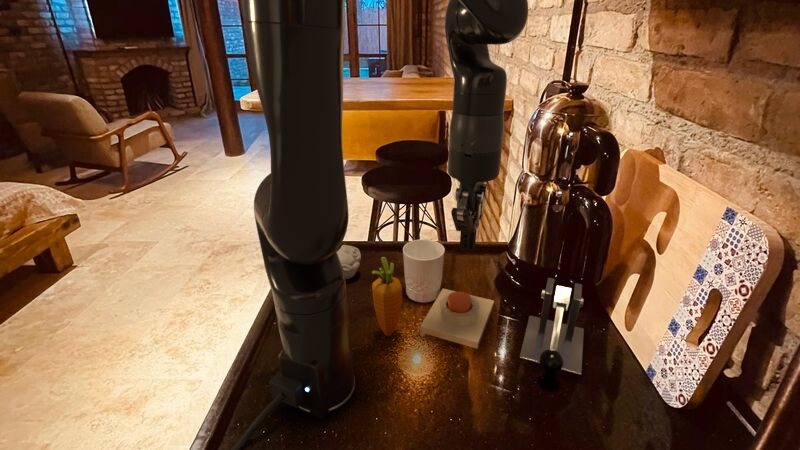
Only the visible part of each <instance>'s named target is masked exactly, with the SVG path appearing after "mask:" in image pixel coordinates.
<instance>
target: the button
mask: <svg viewBox="0 0 800 450" xmlns="http://www.w3.org/2000/svg"><path fill="white" fill-rule="evenodd" d="M468 294H469V293H467V292H464V291H456V292H453V293H451V294H450V295H449V296H448V308H449V309H450V310H451V311H453V312H456V313H466V312H468V311H469V310H470V308H471V297H470V296H469V295H470V294H469V295H468Z"/></svg>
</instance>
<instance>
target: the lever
mask: <svg viewBox="0 0 800 450" xmlns="http://www.w3.org/2000/svg"><path fill="white" fill-rule="evenodd" d="M572 291H573V290H572V287H568V286H563V285H558V284H557V285H556V286H555V291H554V295H553V301H552V308H553V309H555V312H554V318H553V321H554V324H553V329H552V335H551V341H550V347H549V349H548V350H545V351H543V352H542V353H541V355H540V358H539V361H540V364H539V365H540V367H541V369H542V370H543V371H545V372H547V373H549V374H556V373H558V372H560V371H562V370H561V369H562V367H563V358H562V356H561V354H560V353H559V352H557V350H558V344H559V338H560V332H561V326H562V323H563V319H564V313H565V311H566V312H569V308H570V304H571V296H572Z"/></svg>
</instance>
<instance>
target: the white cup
mask: <svg viewBox="0 0 800 450" xmlns="http://www.w3.org/2000/svg"><path fill="white" fill-rule="evenodd" d="M445 252H446V249H445V247H444V245H443V244H442V243H440V242H438V241H436V240H433V239H425V238H423V239H422V238H421V239H415V240H411V241H409V242H407V243H405V244H404V246H403V247H402V257H403V258H402V259H403V260H402V261H403V273H404V282H405V293H406V296H407V297H408V298H409V299H410V300H412V301H413V302H416V303H422V304H423V303H431V302H434V301H436V299H437V297H438V296H439V294H440V292H441V287H442V282H443V273H444V263H445Z"/></svg>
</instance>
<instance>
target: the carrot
mask: <svg viewBox="0 0 800 450" xmlns="http://www.w3.org/2000/svg"><path fill="white" fill-rule="evenodd" d="M380 261H381V265H382V267H379V271H378V270H372V271H371V274H372V275H374V276H377V277H378V278H377V279H375V280H374V281H373V282H372V284H371V289H372V299H373V307H374V313H375V316H376V319H377V322H378V323H377V324H378V326H379V328H380V330H381V331H382V332H383V334H384V335H385V336H386V337H391V336H392V335H393V334H394V332H395V331H396V329H397V327H398V325H399V322H400V318H401V313H402V305H403V287H402V285H401V281H400V279H398V278H397V277H394V276H393V275H394V270H395V263H393V262H390V264H389V261H388V260H387V257H385V256H382V257H381V258H380Z"/></svg>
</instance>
